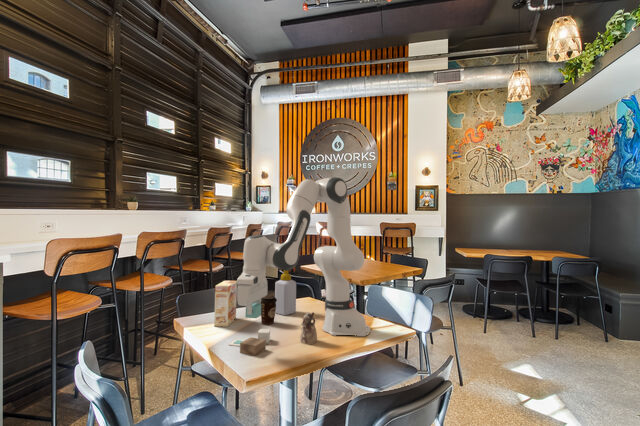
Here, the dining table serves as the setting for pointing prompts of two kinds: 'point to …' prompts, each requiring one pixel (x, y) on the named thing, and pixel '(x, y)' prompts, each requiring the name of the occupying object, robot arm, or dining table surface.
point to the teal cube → (254, 311)
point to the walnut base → (252, 346)
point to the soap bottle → (285, 295)
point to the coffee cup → (268, 310)
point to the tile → (236, 342)
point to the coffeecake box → (225, 303)
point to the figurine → (308, 330)
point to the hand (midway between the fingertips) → (253, 312)
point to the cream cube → (264, 334)
